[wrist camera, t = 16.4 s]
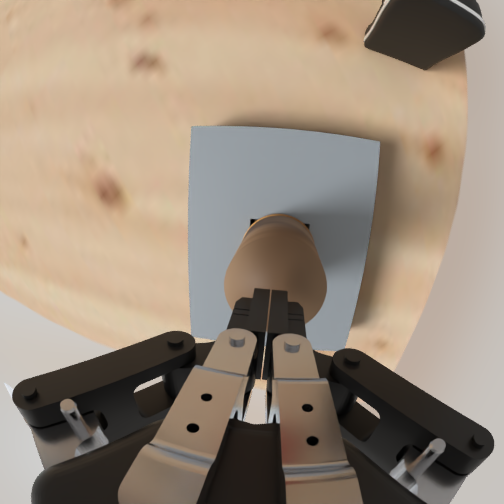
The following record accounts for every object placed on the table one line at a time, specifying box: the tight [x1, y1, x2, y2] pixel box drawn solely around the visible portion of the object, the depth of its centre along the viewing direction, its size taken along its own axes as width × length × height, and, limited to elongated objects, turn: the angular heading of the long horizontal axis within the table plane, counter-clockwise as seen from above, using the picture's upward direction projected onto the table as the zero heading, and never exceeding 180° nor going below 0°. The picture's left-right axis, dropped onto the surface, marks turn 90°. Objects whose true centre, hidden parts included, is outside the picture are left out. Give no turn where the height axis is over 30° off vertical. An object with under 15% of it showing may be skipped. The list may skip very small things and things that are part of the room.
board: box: [188, 126, 380, 351], centre depth 23 cm, size 14×18×4 cm
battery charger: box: [364, 0, 486, 70], centre depth 12 cm, size 7×4×11 cm, turn 81°
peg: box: [224, 214, 327, 332], centre depth 19 cm, size 6×6×10 cm
